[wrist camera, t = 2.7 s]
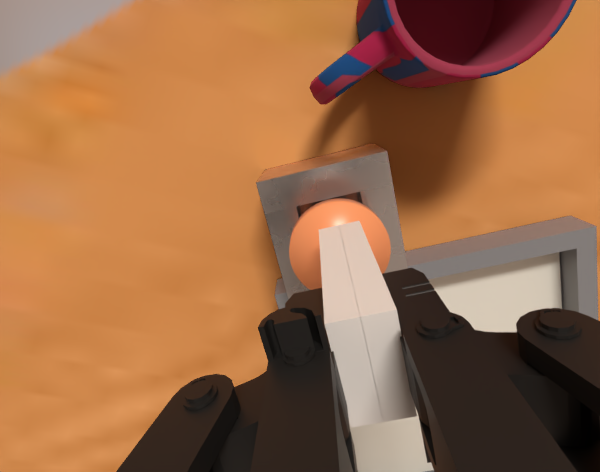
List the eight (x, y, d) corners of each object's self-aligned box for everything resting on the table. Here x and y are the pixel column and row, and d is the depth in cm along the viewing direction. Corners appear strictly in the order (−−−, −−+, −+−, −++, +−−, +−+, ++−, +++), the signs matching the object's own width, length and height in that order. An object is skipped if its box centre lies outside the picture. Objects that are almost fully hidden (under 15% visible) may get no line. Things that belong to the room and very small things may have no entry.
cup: (514, 44, 20) (615, 12, 13) (335, 143, 21) (347, 158, 15) (464, -99, 18) (551, -215, 12) (273, 22, 20) (255, -21, 13)
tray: (336, 489, 29) (339, 517, 27) (277, 279, 24) (274, 295, 22) (579, 448, 27) (601, 475, 25) (570, 215, 22) (596, 226, 20)
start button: (303, 274, 20) (302, 306, 16) (283, 197, 18) (277, 215, 15) (383, 256, 19) (398, 286, 16) (367, 177, 18) (381, 191, 15)
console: (291, 268, 24) (288, 299, 20) (265, 169, 22) (255, 182, 18) (391, 246, 23) (408, 273, 19) (373, 143, 21) (387, 150, 17)
